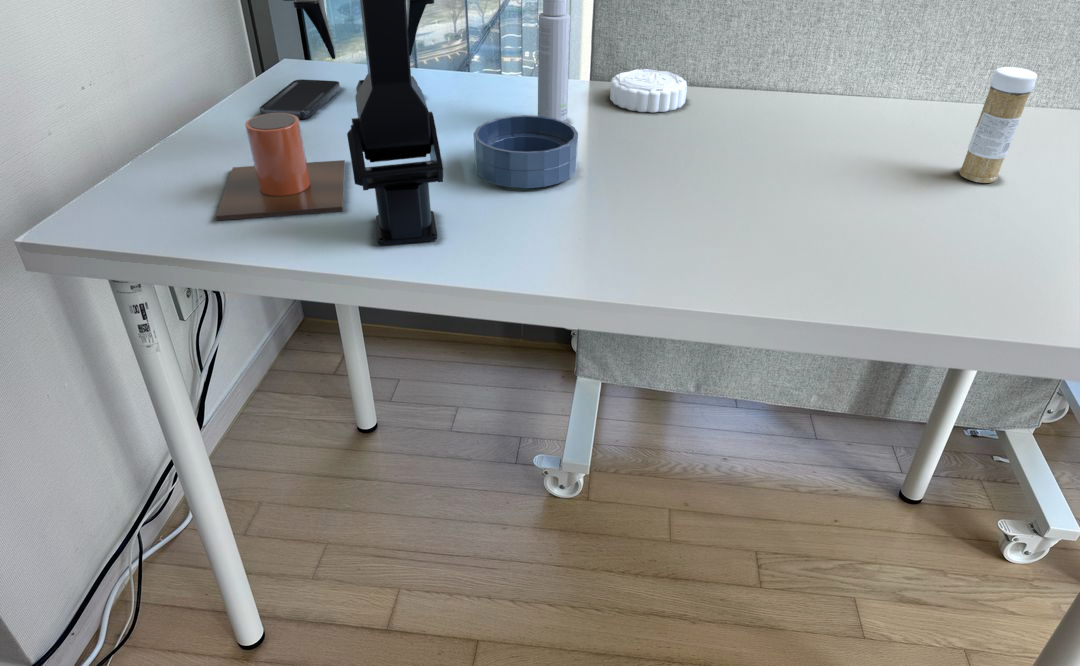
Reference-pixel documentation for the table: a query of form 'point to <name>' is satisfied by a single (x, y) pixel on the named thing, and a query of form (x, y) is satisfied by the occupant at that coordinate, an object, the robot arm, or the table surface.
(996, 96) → the sprinkles bottle
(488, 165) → the bowl
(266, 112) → the phone
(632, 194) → the table surface
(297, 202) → the coaster board
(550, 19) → the bottle
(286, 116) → the cup
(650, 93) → the mooncake
